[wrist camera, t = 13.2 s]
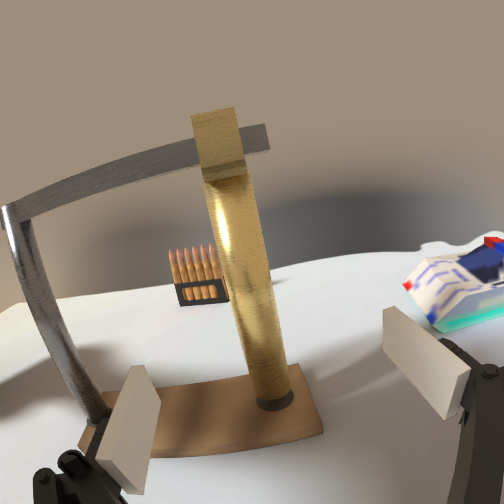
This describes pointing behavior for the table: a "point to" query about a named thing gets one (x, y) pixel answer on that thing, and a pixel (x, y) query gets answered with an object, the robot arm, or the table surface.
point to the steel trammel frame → (67, 193)
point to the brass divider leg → (241, 250)
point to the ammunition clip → (198, 278)
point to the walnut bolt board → (225, 417)
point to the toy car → (460, 286)
